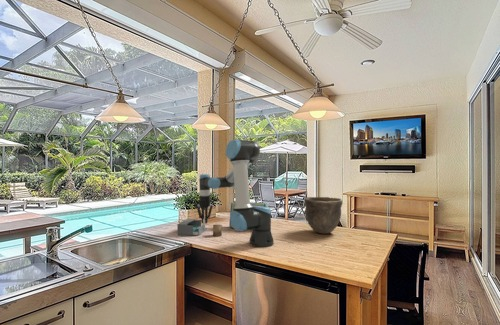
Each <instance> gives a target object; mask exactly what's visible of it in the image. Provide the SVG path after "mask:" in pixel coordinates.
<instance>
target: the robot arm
mask: <svg viewBox="0 0 500 325" xmlns="http://www.w3.org/2000/svg"><path fill="white" fill-rule="evenodd" d="M260 154H261V149H260V146H259V144H258V143H257V142H256V141H254V140H246V139H232V140H229V141H228V143H227V144H226V148H225V156H226V157H227V159H228V160H229V162H230V164H231V165H232V168H231V169H230V170H229V171H228V172H227V174H226V175H225V176H222V177H221V176H220V177H219V176H217V177H215V176H214V177H211V175H210V174H207V173H205V174H204V173H200V174H199V179H198V180H199V182H198V183H199V198H198V199H199V202H198V203H197V204H196V205H195V207H196V209H197V213H198V218H199V219H200V220H201V224H202V225H203V228H206V229H207V224H208V219H210V218H211V214H212V210H213V207H214V204H212V203H211V196H210V194H211V189H213V190H214V189H215V190H216V189H224V188H233V187H234V198H235V200H236V201H235V200H234V201H235V202H236V205H235V207H234V211H233V212H232V213H231V215H230V214H229V222H230V221H231V224H232V226H233V228H232V229H234V230H236V231H237V232H243V231H244V232H245V231H248V230H249V229H252V230H251V234H250V237H249V240H248V241H249V245H250V246H252V247H257V248H258V247H259V248H265V247H266V248H268V247H271V246H273V245H274V243H275V242H274V238H273V237H274V236H273V234H272V227H271V226H272V225H271V224H272V210H271V208H270V207H269V206H268V207H262V206H252V205H251V204H250V202H251V200H250V199H251V198H250V184H249V172H248V170H249V169H248V168H249V166H250V165H251V164H254V163H255V162H256V161H257V160H258V158H259V156H260ZM249 231H250V230H249Z"/></svg>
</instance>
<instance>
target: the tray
mask: <svg viewBox="0 0 500 325" xmlns="http://www.w3.org/2000/svg"><path fill="white" fill-rule="evenodd" d="M206 230H207V227H206V228H203V224H201V226H200V227H199V228H198V231H197V232H193V235H196V236H199V235H201V234H202V233H203V232H204V231H206Z"/></svg>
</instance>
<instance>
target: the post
mask: <svg viewBox="0 0 500 325" xmlns="http://www.w3.org/2000/svg"><path fill="white" fill-rule="evenodd" d="M222 226H223V225H222V224H217V223H216V224H213V225H212V237H215V238H216V237H217V238H218V237H222V234H223V233H222V232H223V229H222V228H223V227H222Z"/></svg>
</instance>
